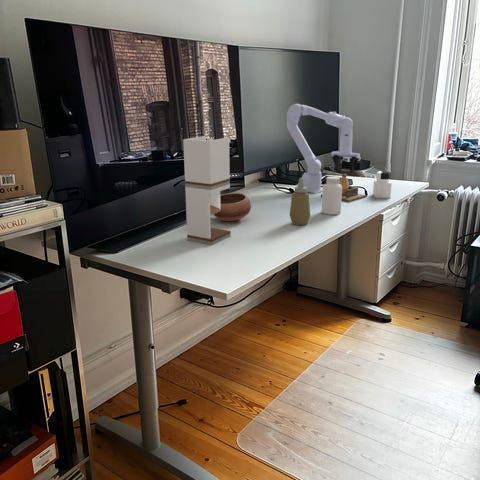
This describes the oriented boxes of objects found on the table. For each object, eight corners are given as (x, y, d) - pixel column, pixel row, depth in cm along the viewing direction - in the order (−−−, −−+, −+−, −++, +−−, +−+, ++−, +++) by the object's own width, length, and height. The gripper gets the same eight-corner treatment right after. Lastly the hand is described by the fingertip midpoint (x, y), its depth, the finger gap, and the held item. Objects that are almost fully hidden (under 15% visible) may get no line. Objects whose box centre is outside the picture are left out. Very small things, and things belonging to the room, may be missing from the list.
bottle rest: (321, 196, 233) (321, 187, 232) (338, 192, 243) (338, 183, 241) (349, 202, 222) (350, 192, 221) (366, 197, 232) (366, 187, 230)
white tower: (212, 245, 166) (209, 141, 155) (187, 240, 171) (183, 139, 160) (230, 236, 175) (229, 137, 164) (206, 231, 180) (203, 136, 170)
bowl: (203, 221, 195) (203, 196, 191) (228, 212, 206) (227, 189, 203) (234, 227, 185) (234, 202, 182) (258, 218, 197) (258, 194, 194)
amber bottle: (336, 194, 232) (337, 174, 229) (342, 193, 235) (343, 173, 232) (343, 196, 229) (345, 175, 226) (349, 195, 232) (351, 174, 229)
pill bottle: (342, 211, 207) (344, 176, 202) (337, 216, 200) (340, 180, 195) (324, 209, 210) (326, 175, 206) (319, 214, 203) (320, 178, 199)
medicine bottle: (387, 194, 237) (389, 170, 233) (390, 198, 230) (392, 172, 226) (372, 194, 237) (374, 170, 234) (375, 197, 231) (377, 172, 227)
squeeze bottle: (311, 221, 192) (313, 176, 187) (307, 227, 185) (309, 180, 180) (291, 220, 195) (293, 175, 189) (287, 225, 188) (288, 179, 182)
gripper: (328, 143, 236) (327, 171, 240) (355, 145, 227) (353, 174, 231) (336, 142, 241) (335, 169, 245) (362, 143, 232) (361, 172, 236)
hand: (344, 171), depth 239 cm, fingers open, 7 cm apart
